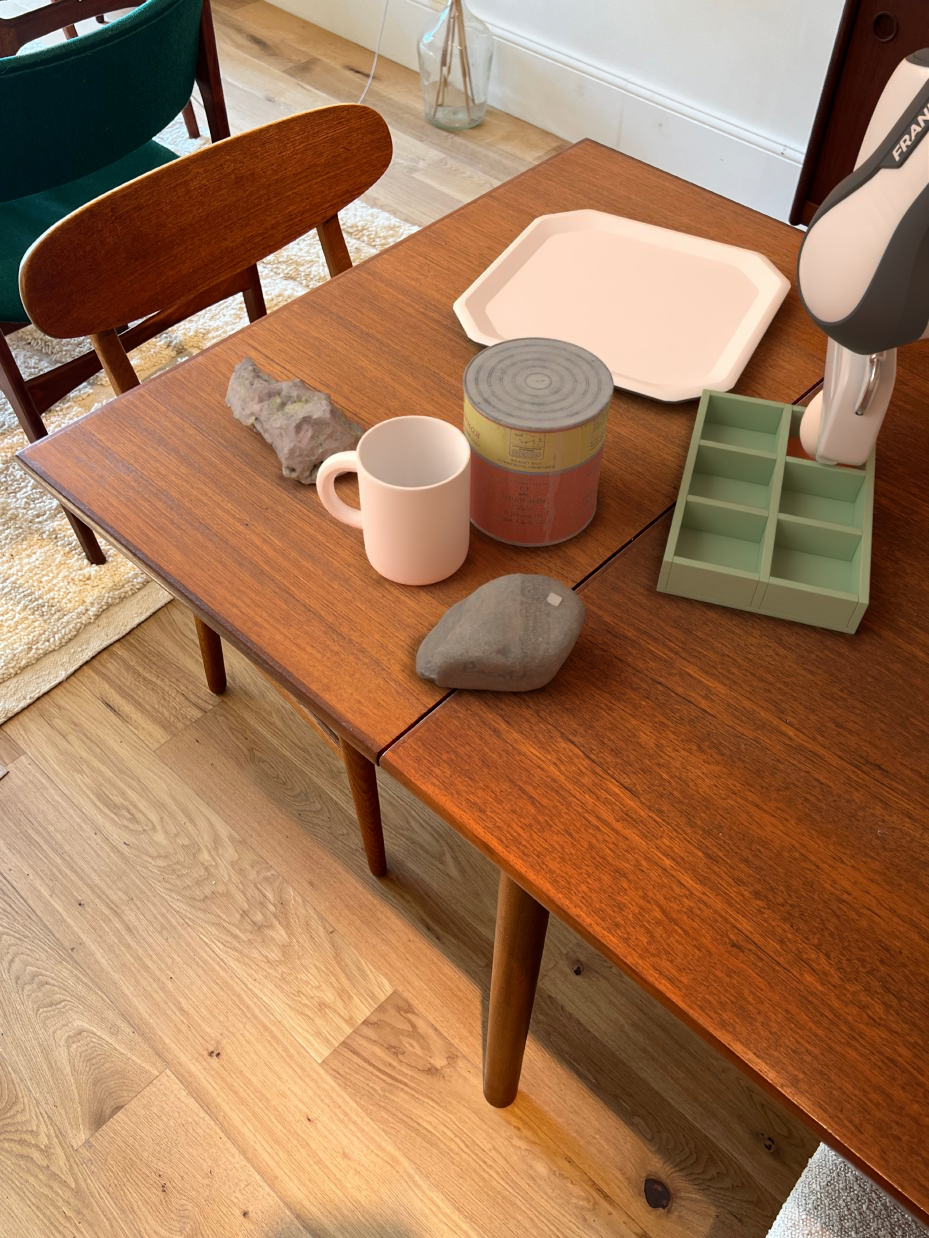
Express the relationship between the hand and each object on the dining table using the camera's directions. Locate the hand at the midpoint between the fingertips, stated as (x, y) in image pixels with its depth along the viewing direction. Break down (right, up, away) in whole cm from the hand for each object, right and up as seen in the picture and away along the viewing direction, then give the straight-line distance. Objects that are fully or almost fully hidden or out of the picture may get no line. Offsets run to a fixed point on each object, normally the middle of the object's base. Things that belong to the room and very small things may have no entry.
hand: (828, 435), depth 83 cm
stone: (-28, -19, -11) cm, 35 cm away
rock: (-45, 0, +5) cm, 45 cm away
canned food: (-25, -5, 0) cm, 26 cm away
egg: (0, -2, +2) cm, 3 cm away
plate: (-14, +16, +19) cm, 29 cm away
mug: (-36, -10, -3) cm, 37 cm away
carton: (-5, -7, -1) cm, 9 cm away
